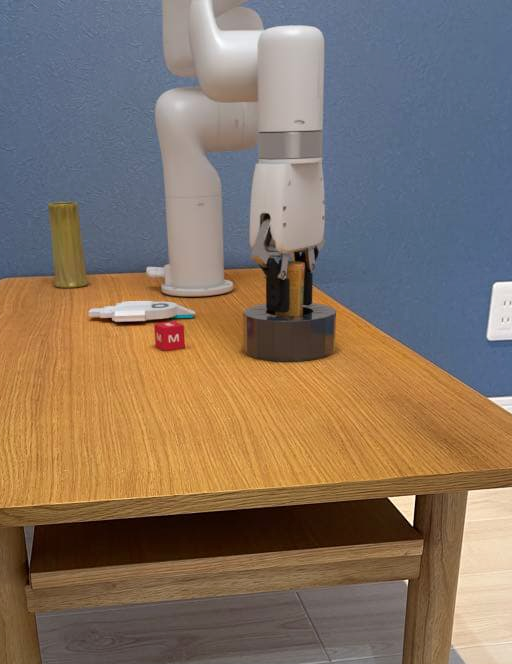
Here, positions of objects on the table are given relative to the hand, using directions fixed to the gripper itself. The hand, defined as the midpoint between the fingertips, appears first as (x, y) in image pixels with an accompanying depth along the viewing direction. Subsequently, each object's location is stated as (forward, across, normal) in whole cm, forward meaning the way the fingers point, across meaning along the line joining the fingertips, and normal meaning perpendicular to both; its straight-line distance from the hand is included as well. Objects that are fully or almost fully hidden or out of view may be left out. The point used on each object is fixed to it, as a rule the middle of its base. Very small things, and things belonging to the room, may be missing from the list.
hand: (289, 306), depth 108 cm
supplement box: (+5, 0, 0) cm, 5 cm away
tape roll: (+6, 0, 0) cm, 6 cm away
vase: (+6, -18, -62) cm, 65 cm away
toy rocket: (+6, -4, -30) cm, 31 cm away
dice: (+6, +7, -14) cm, 17 cm away
